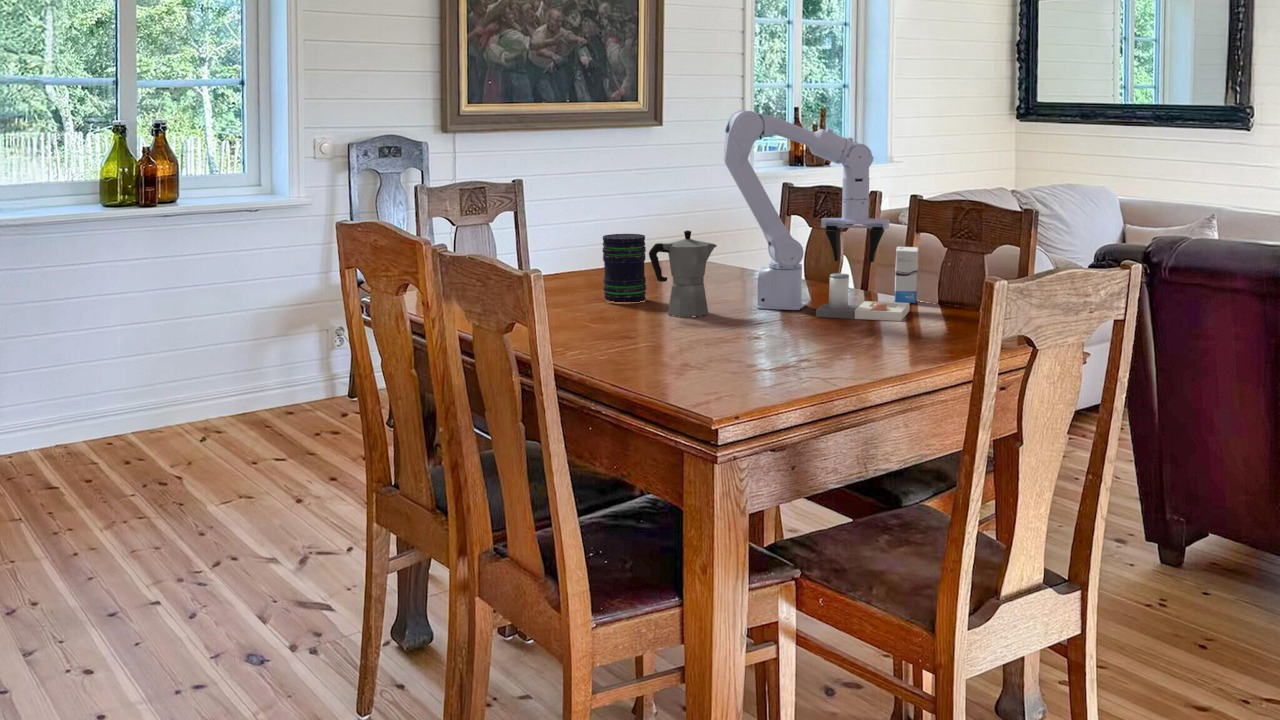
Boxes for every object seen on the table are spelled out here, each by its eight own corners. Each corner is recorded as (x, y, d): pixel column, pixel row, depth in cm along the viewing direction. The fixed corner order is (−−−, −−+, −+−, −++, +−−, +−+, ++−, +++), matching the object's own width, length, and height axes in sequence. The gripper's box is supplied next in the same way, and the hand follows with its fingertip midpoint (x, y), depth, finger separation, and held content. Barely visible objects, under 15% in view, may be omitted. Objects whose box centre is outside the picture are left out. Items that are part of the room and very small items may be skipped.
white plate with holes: (854, 318, 266) (854, 310, 266) (864, 309, 277) (864, 301, 277) (900, 320, 263) (901, 312, 262) (909, 311, 274) (909, 302, 273)
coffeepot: (707, 308, 281) (707, 226, 277) (725, 315, 273) (725, 231, 269) (642, 313, 276) (641, 230, 272) (657, 320, 267) (656, 235, 264)
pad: (815, 316, 269) (815, 309, 268) (823, 310, 276) (823, 303, 276) (853, 318, 266) (853, 311, 266) (860, 312, 273) (860, 305, 273)
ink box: (917, 303, 283) (918, 250, 280) (894, 303, 284) (895, 250, 281) (916, 297, 291) (918, 246, 289) (894, 297, 292) (895, 245, 290)
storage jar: (654, 301, 291) (654, 236, 288) (618, 306, 285) (617, 239, 282) (630, 296, 299) (629, 232, 296) (595, 300, 294) (593, 235, 290)
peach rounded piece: (871, 318, 266) (872, 304, 265) (873, 316, 268) (874, 302, 268) (885, 319, 265) (885, 305, 264) (887, 317, 267) (887, 303, 267)
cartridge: (826, 308, 270) (827, 275, 268) (831, 305, 273) (832, 273, 272) (845, 309, 268) (846, 276, 267) (849, 306, 272) (850, 274, 270)
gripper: (818, 199, 275) (817, 262, 278) (886, 201, 271) (884, 264, 273) (825, 197, 282) (824, 258, 285) (891, 198, 277) (889, 260, 280)
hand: (854, 261), depth 280 cm, fingers open, 7 cm apart
